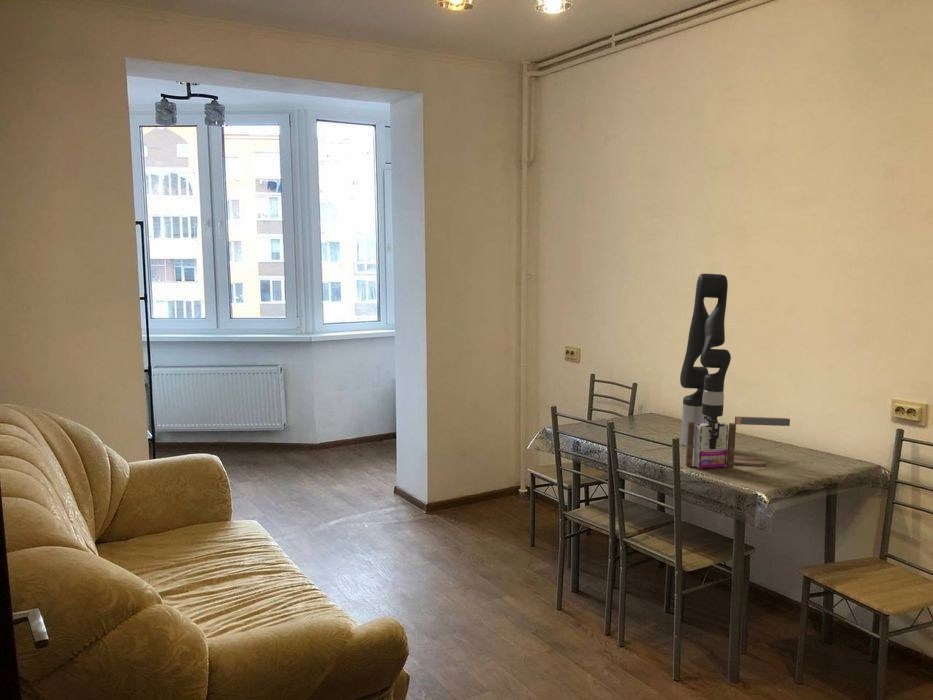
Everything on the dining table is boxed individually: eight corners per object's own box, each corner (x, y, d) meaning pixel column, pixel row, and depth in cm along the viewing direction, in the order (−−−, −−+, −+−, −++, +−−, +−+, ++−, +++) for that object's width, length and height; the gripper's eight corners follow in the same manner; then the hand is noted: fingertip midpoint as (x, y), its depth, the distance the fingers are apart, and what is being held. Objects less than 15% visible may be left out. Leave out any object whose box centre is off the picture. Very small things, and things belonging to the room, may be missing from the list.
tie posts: (685, 465, 268) (687, 421, 266) (731, 467, 267) (734, 423, 265) (686, 466, 266) (688, 422, 264) (733, 468, 265) (736, 424, 263)
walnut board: (715, 456, 282) (715, 453, 281) (756, 458, 280) (756, 455, 280) (722, 464, 270) (723, 462, 270) (766, 466, 268) (766, 463, 268)
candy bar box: (719, 463, 270) (721, 421, 268) (726, 467, 265) (729, 424, 263) (692, 465, 268) (694, 422, 266) (698, 468, 263) (701, 425, 261)
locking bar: (734, 423, 265) (735, 416, 264) (787, 425, 263) (788, 418, 263) (736, 424, 263) (736, 417, 262) (789, 426, 261) (790, 419, 260)
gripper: (728, 406, 256) (725, 452, 258) (718, 399, 270) (715, 442, 272) (707, 406, 257) (704, 451, 259) (698, 398, 271) (695, 441, 273)
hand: (710, 446), depth 266 cm, fingers closed on candy bar box, 6 cm apart
